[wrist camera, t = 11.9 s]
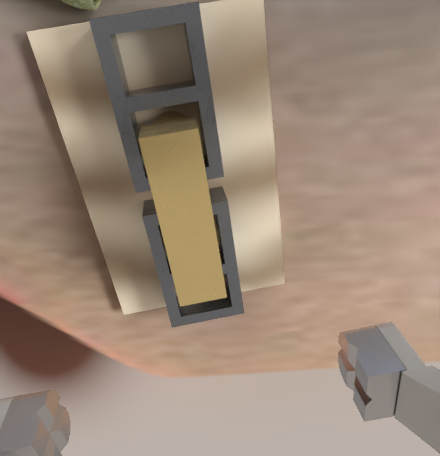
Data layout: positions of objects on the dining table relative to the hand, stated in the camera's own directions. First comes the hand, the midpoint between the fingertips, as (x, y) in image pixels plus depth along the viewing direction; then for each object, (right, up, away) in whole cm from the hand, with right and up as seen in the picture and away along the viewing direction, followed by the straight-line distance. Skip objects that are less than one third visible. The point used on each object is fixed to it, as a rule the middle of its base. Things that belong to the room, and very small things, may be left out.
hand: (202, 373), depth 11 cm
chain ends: (-2, +8, +15) cm, 17 cm away
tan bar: (-2, +7, +15) cm, 16 cm away
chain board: (-2, +8, +15) cm, 17 cm away
